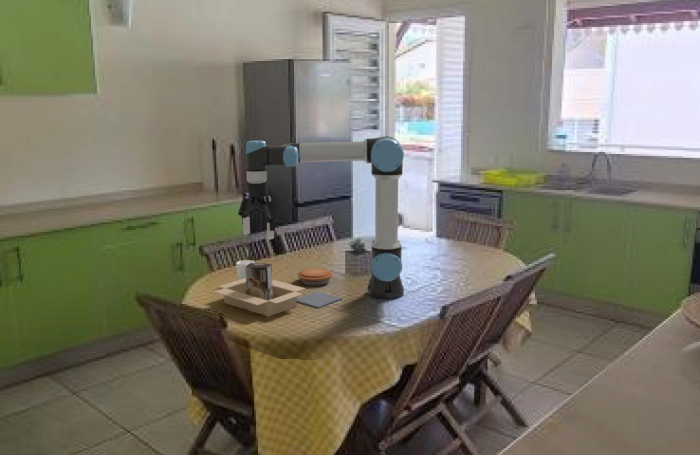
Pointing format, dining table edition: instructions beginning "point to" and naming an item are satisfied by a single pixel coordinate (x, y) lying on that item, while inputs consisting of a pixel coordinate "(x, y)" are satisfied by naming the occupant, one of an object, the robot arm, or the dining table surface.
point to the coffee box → (259, 280)
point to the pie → (314, 276)
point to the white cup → (242, 268)
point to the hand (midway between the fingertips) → (258, 236)
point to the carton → (281, 300)
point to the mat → (318, 299)
